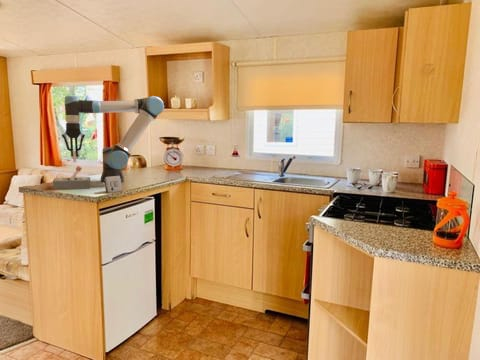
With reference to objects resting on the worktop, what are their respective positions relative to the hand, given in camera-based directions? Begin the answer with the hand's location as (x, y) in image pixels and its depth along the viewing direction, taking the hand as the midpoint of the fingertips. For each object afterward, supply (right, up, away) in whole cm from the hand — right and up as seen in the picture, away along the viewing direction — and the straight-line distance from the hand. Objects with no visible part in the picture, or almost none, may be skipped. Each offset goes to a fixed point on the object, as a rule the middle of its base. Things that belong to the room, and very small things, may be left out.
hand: (74, 162), depth 220 cm
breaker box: (-2, -15, +1) cm, 15 cm away
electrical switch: (+26, -18, -9) cm, 33 cm away
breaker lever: (-2, -11, 0) cm, 12 cm away
